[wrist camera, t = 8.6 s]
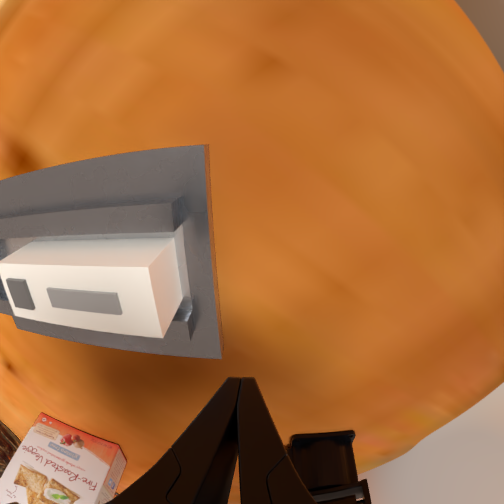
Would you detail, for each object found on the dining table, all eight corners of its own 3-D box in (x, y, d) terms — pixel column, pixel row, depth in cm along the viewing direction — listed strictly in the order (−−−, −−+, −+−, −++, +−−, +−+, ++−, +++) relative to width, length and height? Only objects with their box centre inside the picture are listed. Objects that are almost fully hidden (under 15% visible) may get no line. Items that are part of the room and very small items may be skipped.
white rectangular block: (174, 237, 16) (145, 270, 12) (182, 298, 18) (161, 341, 14) (31, 241, 17) (-7, 265, 13) (44, 289, 18) (12, 318, 15)
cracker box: (119, 442, 29) (72, 568, 9) (128, 461, 31) (91, 572, 12) (39, 409, 29) (-18, 508, 9) (53, 430, 31) (6, 522, 12)
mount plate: (208, 144, 15) (197, 145, 13) (224, 348, 21) (218, 373, 18) (-14, 184, 17) (-35, 192, 14) (23, 322, 22) (9, 336, 19)
